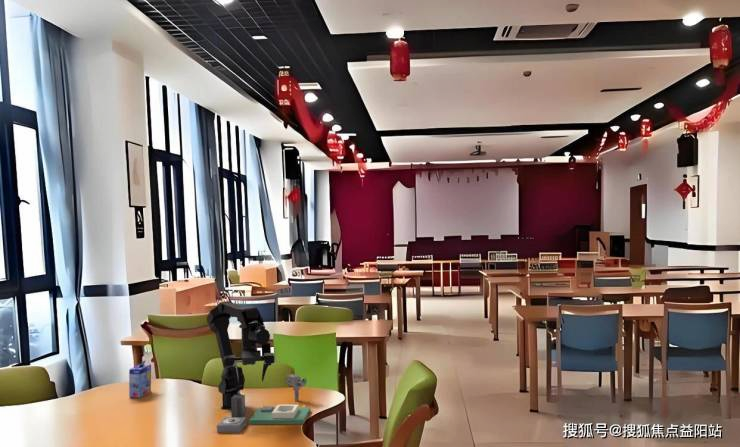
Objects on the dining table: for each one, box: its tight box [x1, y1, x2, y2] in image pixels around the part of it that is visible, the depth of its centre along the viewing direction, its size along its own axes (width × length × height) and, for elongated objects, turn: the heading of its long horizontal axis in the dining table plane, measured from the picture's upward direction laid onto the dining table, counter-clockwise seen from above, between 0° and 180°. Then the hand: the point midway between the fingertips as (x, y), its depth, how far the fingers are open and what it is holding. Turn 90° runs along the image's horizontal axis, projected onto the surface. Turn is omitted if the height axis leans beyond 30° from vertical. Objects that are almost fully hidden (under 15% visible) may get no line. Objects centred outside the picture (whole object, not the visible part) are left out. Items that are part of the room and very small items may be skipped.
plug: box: [230, 394, 246, 417], centre depth 207 cm, size 4×5×8 cm
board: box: [248, 404, 311, 425], centre depth 207 cm, size 20×14×4 cm
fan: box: [216, 416, 247, 434], centre depth 197 cm, size 8×8×3 cm
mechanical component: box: [285, 373, 307, 402], centre depth 227 cm, size 3×10×10 cm, turn 53°
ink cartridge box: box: [128, 359, 152, 398], centre depth 242 cm, size 10×6×14 cm, turn 175°
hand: (250, 381), depth 210 cm, fingers open, 9 cm apart
